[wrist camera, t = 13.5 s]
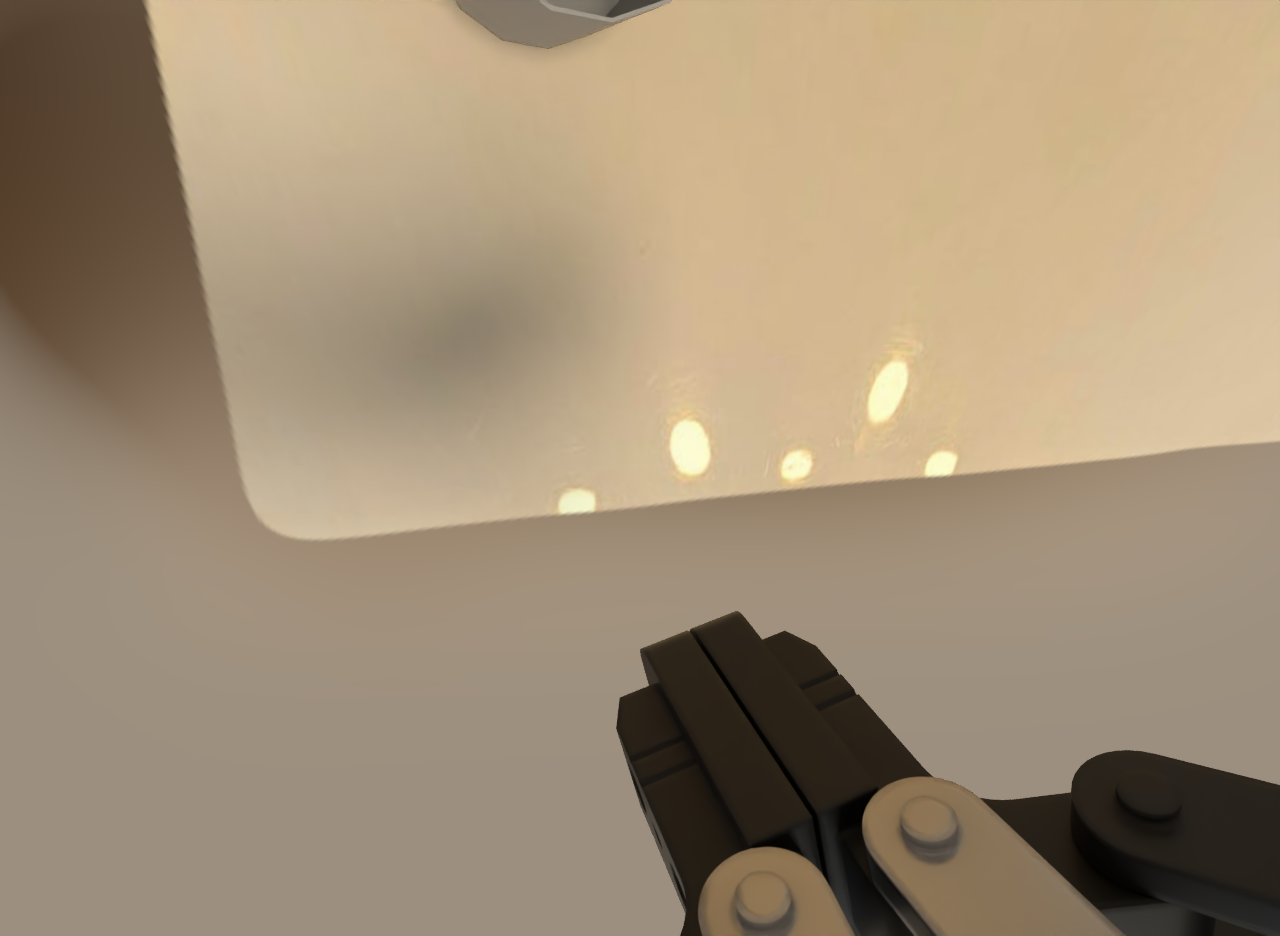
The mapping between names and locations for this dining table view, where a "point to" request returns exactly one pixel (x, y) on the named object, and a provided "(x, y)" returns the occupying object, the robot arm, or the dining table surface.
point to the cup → (552, 17)
